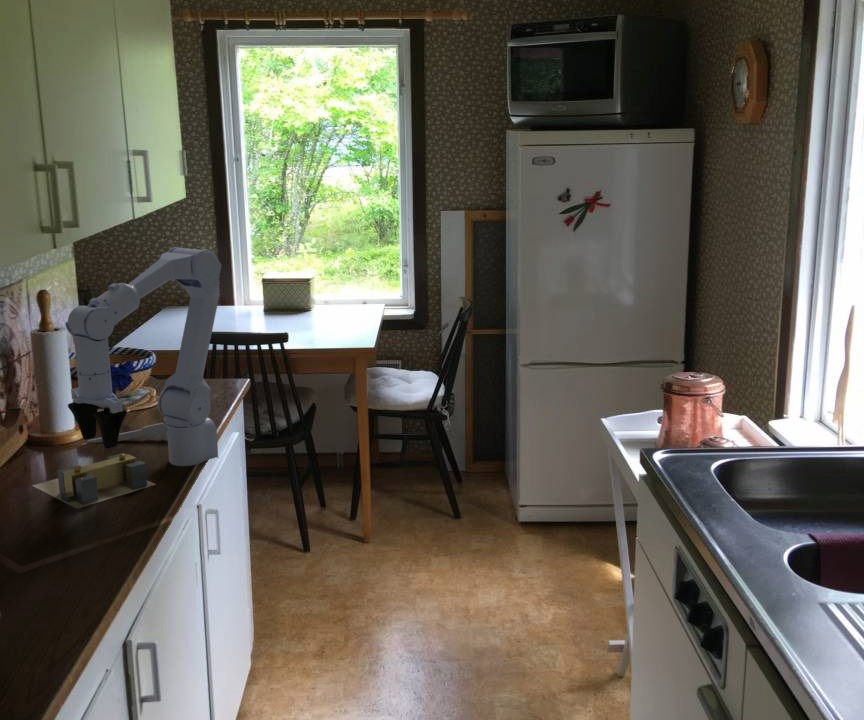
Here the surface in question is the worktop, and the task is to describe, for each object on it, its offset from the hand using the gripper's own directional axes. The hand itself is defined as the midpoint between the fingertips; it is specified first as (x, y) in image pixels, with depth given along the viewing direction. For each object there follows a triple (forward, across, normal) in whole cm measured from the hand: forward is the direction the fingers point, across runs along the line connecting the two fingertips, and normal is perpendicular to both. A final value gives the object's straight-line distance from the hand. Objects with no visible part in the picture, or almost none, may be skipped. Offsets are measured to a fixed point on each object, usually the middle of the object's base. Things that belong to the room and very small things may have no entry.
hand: (99, 442), depth 168 cm
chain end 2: (+9, 0, +5) cm, 10 cm away
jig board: (+10, -3, 0) cm, 10 cm away
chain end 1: (+9, 0, -5) cm, 10 cm away
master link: (+8, 0, 0) cm, 8 cm away
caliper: (+10, -22, +19) cm, 31 cm away
